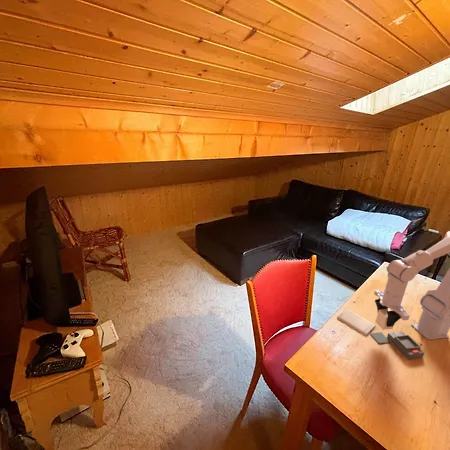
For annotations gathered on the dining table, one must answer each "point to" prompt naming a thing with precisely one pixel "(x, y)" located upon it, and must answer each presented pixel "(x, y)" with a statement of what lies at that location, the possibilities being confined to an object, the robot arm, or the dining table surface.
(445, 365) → the dining table surface
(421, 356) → the gray recessed box
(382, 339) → the coaster
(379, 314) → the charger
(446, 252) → the robot arm
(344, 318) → the hard drive
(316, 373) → the dining table surface
